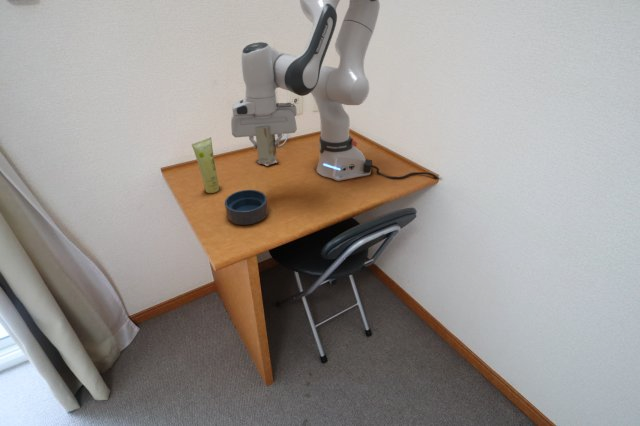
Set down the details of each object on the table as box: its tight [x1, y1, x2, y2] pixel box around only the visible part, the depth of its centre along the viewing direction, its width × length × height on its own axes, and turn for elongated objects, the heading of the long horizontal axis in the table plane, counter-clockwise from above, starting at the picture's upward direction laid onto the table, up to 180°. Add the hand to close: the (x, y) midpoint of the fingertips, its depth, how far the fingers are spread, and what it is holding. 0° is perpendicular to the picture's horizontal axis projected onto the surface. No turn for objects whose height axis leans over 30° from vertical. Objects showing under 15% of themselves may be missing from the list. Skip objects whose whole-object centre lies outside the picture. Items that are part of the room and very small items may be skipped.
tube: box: [191, 137, 220, 194], centre depth 111 cm, size 6×5×20 cm
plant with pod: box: [256, 158, 279, 167], centre depth 131 cm, size 8×11×20 cm
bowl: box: [224, 189, 269, 226], centre depth 102 cm, size 13×13×6 cm
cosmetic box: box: [255, 127, 278, 165], centre depth 102 cm, size 6×4×12 cm
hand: (266, 147), depth 103 cm, fingers closed on cosmetic box, 5 cm apart
